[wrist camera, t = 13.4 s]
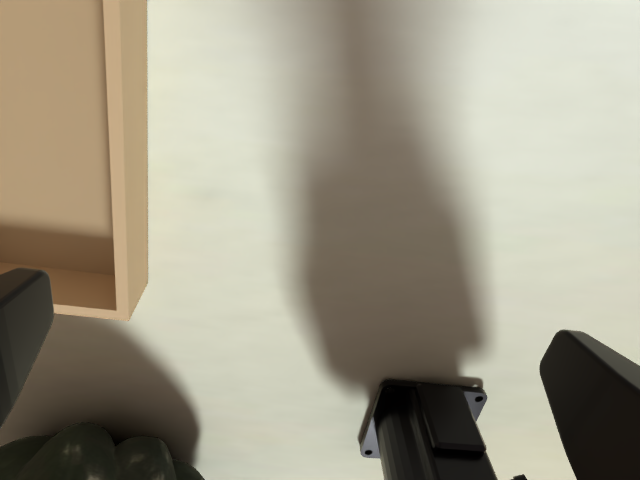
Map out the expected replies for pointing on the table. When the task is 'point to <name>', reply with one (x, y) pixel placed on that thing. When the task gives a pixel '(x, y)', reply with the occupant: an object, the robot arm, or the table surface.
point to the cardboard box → (76, 150)
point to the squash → (91, 457)
